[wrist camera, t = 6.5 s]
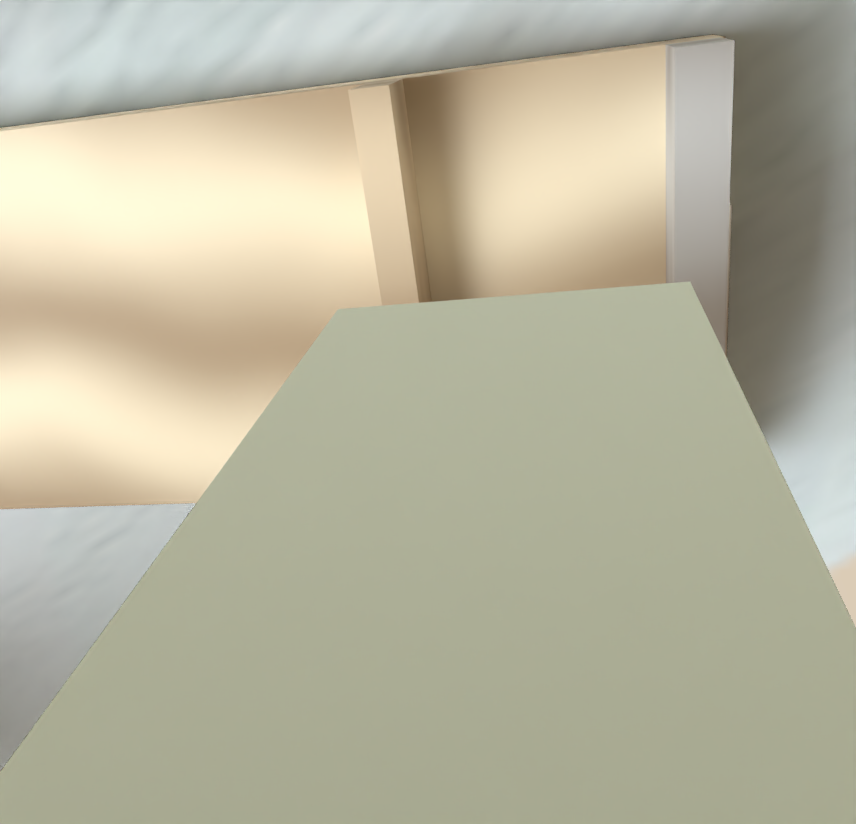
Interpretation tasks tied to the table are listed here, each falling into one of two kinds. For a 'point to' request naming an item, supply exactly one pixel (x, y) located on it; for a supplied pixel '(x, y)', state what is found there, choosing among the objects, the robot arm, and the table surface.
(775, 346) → the table surface
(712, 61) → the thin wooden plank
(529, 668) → the carton
